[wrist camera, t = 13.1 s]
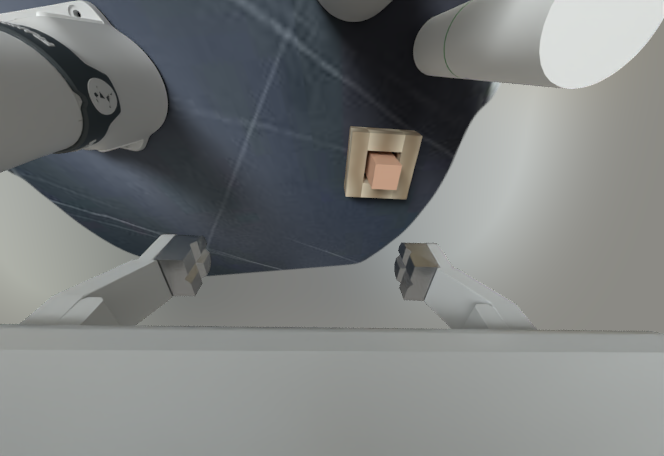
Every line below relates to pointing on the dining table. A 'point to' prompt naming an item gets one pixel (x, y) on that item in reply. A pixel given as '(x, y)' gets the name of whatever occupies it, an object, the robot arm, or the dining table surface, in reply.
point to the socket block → (380, 140)
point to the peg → (382, 170)
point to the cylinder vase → (354, 8)
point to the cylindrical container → (536, 40)
